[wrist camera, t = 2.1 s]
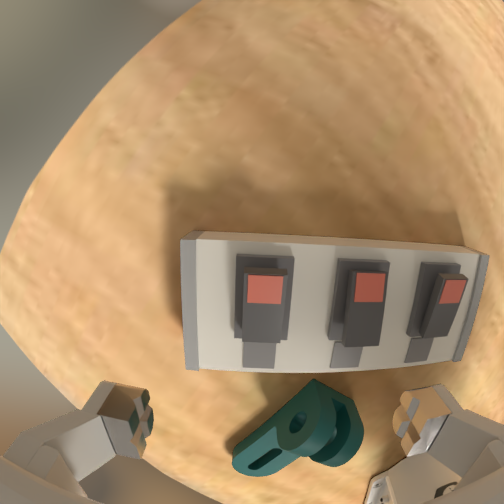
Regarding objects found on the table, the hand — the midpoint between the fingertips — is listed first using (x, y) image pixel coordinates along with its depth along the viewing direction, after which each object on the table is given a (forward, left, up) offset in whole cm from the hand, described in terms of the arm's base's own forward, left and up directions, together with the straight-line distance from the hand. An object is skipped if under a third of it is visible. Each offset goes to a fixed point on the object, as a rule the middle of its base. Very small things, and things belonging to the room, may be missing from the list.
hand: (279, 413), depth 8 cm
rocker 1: (-2, 0, -14) cm, 14 cm away
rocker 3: (-2, -16, -14) cm, 21 cm away
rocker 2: (-2, -8, -14) cm, 16 cm away
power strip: (-4, -8, -20) cm, 22 cm away
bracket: (-23, -4, -20) cm, 31 cm away
